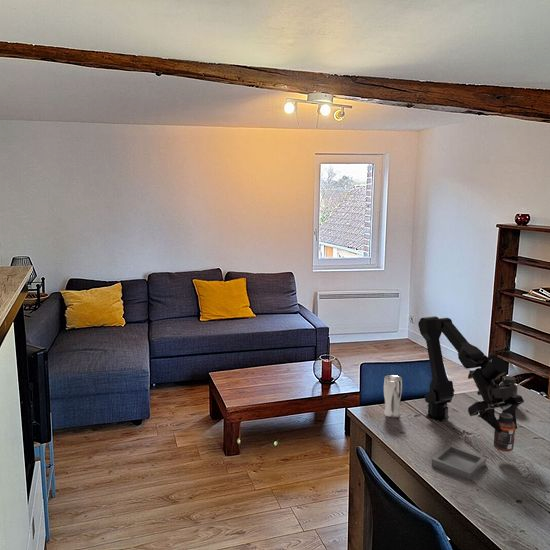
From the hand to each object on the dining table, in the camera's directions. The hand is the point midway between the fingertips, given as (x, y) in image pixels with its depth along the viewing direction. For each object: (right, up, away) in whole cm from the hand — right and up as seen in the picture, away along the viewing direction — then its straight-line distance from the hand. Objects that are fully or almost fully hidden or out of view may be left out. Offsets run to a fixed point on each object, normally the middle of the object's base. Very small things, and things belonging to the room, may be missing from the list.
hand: (508, 430), depth 162 cm
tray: (-16, -11, 0) cm, 19 cm away
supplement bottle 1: (+20, -4, +44) cm, 48 cm away
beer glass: (-29, -5, +37) cm, 47 cm away
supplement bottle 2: (0, -6, +2) cm, 7 cm away
